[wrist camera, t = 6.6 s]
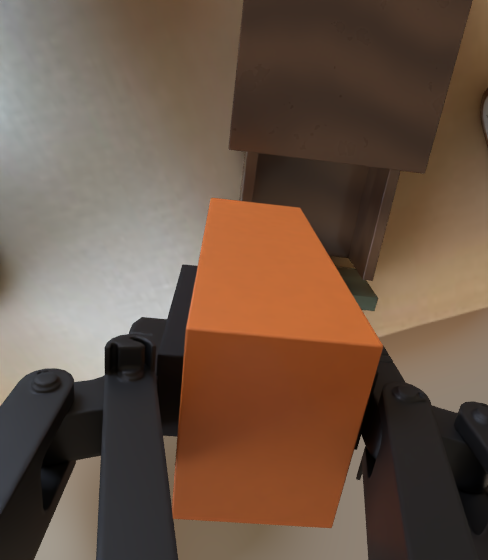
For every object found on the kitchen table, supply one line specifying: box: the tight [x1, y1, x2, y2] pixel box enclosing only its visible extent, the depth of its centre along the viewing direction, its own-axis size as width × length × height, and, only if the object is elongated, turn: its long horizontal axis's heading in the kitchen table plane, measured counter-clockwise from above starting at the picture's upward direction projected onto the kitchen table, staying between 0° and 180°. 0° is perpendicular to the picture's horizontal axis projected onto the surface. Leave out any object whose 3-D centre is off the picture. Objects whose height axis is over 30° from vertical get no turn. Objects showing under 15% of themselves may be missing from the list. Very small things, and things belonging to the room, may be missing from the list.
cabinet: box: [229, 0, 472, 173], centre depth 30 cm, size 16×14×8 cm
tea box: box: [172, 198, 383, 528], centre depth 17 cm, size 6×4×13 cm
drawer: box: [239, 152, 400, 311], centre depth 36 cm, size 19×12×6 cm, turn 173°
